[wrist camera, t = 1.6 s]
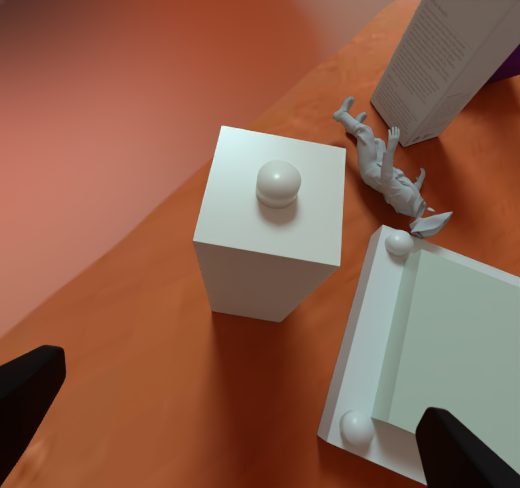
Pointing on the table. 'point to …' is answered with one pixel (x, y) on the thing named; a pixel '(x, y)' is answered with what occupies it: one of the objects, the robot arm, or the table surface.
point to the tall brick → (269, 222)
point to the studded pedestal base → (425, 353)
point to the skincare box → (444, 63)
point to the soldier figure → (389, 173)
